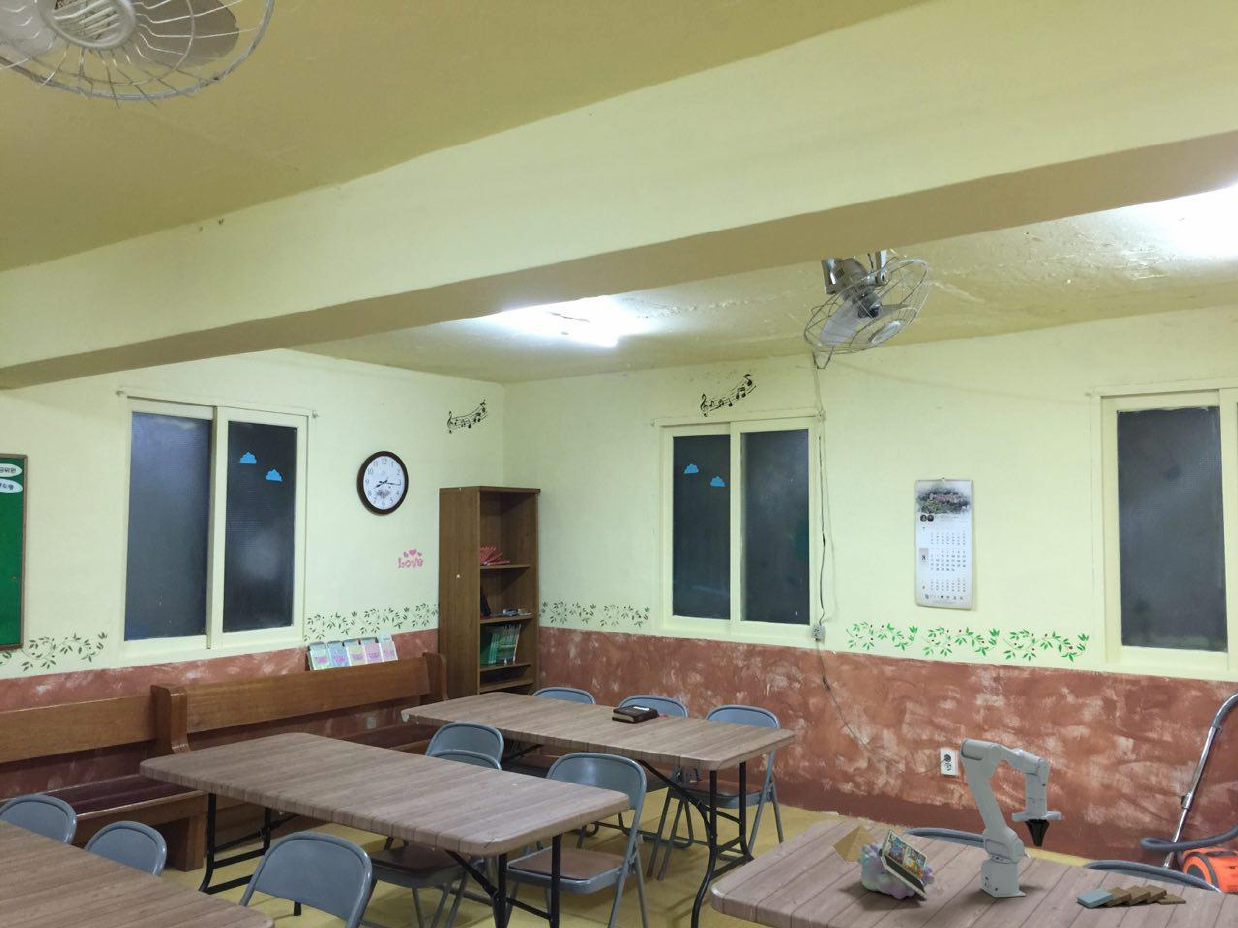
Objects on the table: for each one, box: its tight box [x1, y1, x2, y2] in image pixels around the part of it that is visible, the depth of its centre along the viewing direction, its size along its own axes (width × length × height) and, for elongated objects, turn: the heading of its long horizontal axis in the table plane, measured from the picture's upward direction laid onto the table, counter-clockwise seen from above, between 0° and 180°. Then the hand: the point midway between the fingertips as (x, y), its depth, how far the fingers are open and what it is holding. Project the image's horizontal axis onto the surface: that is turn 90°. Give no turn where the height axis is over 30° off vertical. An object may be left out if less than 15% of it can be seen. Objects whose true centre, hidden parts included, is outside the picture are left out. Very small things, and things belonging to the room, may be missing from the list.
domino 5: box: [1154, 893, 1187, 906], centre depth 264 cm, size 1×5×8 cm
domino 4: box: [1141, 884, 1168, 904], centre depth 265 cm, size 1×5×8 cm
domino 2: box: [1102, 886, 1132, 908], centre depth 262 cm, size 1×5×8 cm
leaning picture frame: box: [857, 827, 936, 900], centre depth 271 cm, size 20×22×18 cm
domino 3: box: [1123, 884, 1151, 907], centre depth 264 cm, size 1×5×8 cm
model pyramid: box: [832, 824, 879, 862], centre depth 302 cm, size 17×17×10 cm
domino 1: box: [1076, 887, 1113, 909], centre depth 261 cm, size 1×5×8 cm
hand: (1037, 845), depth 279 cm, fingers closed
